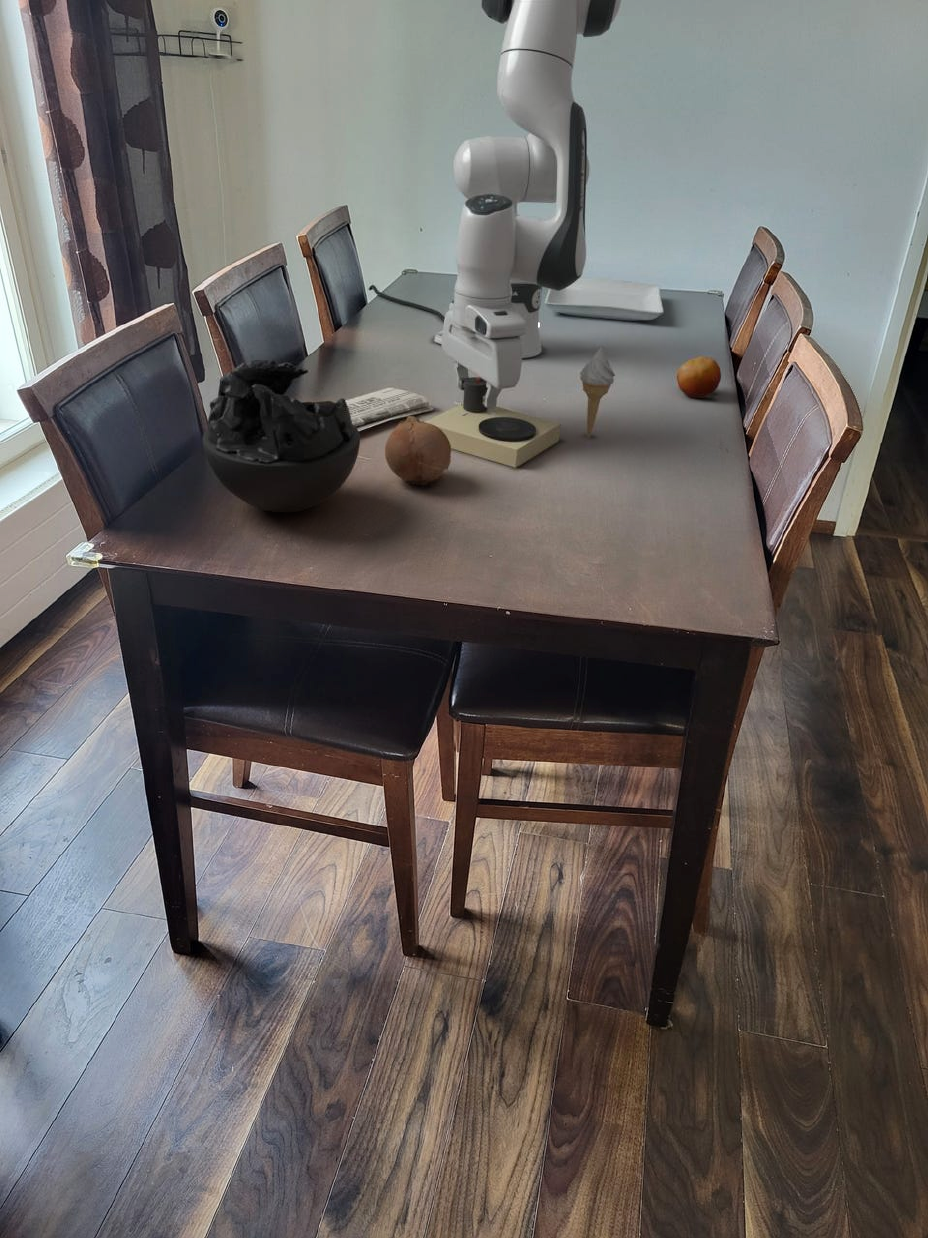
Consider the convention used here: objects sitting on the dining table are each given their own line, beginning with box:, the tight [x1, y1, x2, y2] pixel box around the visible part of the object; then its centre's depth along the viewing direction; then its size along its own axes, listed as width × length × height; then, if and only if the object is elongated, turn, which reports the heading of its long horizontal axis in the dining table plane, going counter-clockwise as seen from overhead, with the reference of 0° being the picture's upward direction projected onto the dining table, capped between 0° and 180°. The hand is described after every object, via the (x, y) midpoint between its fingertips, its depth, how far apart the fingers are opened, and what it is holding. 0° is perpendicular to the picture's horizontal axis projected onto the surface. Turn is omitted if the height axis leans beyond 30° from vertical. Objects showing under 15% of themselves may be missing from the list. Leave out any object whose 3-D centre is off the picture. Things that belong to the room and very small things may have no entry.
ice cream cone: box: [579, 345, 616, 438], centre depth 148 cm, size 6×6×15 cm
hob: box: [424, 401, 561, 469], centre depth 148 cm, size 18×15×3 cm
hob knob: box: [462, 376, 488, 413], centre depth 150 cm, size 4×4×5 cm
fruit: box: [676, 356, 722, 399], centre depth 172 cm, size 8×8×8 cm
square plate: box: [544, 276, 665, 322], centre depth 223 cm, size 27×27×4 cm
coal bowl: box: [201, 358, 361, 513], centre depth 120 cm, size 20×20×19 cm
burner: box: [478, 417, 536, 442], centre depth 144 cm, size 9×9×1 cm
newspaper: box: [345, 387, 434, 432], centre depth 154 cm, size 23×12×2 cm, turn 138°
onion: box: [384, 415, 452, 486], centre depth 132 cm, size 10×9×10 cm
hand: (476, 397), depth 151 cm, fingers open, 7 cm apart
